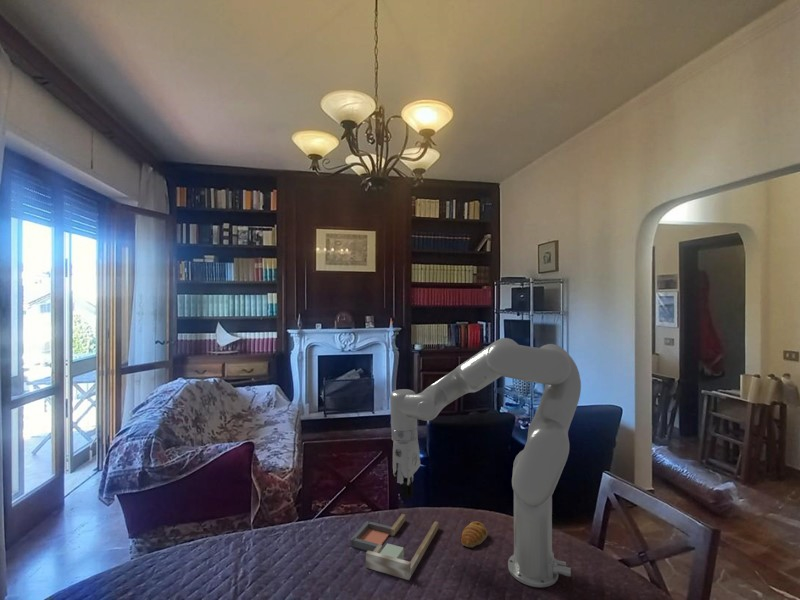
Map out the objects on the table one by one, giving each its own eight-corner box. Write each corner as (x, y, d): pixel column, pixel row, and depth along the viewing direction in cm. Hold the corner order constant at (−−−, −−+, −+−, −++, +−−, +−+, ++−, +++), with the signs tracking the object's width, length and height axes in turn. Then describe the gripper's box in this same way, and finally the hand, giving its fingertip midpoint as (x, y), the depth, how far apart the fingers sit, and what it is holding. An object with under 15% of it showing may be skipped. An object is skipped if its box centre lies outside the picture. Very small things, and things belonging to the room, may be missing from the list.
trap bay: (392, 533, 124) (391, 526, 124) (376, 553, 115) (376, 546, 115) (367, 527, 128) (367, 520, 128) (350, 546, 118) (350, 539, 118)
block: (403, 562, 111) (403, 547, 111) (396, 573, 107) (396, 558, 106) (387, 557, 113) (387, 543, 113) (379, 568, 109) (379, 554, 108)
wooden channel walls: (438, 528, 126) (438, 515, 126) (408, 580, 104) (408, 564, 104) (402, 520, 131) (401, 507, 131) (366, 567, 109) (365, 552, 109)
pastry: (476, 553, 115) (476, 539, 115) (455, 545, 119) (455, 532, 119) (489, 536, 123) (489, 523, 123) (468, 529, 126) (468, 517, 126)
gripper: (406, 443, 109) (409, 511, 109) (425, 426, 123) (428, 486, 123) (381, 440, 112) (384, 507, 112) (402, 424, 126) (405, 483, 126)
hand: (407, 496), depth 117 cm, fingers closed
